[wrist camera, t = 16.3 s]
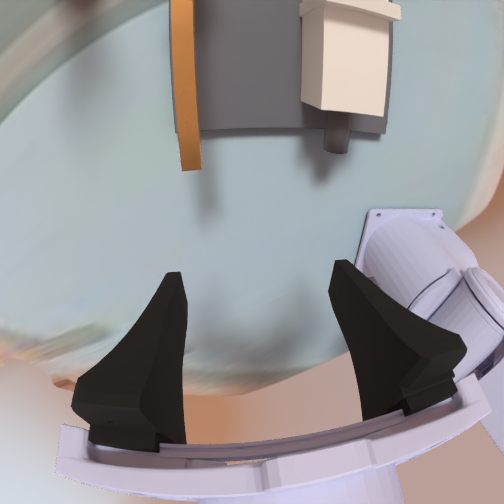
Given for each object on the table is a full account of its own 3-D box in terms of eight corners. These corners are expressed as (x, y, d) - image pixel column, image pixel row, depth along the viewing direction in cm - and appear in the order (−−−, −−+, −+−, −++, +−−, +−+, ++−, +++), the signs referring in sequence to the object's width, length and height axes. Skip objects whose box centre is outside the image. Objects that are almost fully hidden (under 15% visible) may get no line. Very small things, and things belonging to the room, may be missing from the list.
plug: (356, -53, 9) (391, -74, 5) (352, 143, 19) (387, 168, 15) (297, -66, 8) (319, -96, 4) (296, 141, 19) (319, 165, 14)
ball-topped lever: (215, 162, 14) (215, 169, 14) (171, 166, 14) (168, 174, 13) (210, -83, 5) (209, -92, 4) (163, -77, 5) (159, -85, 4)
